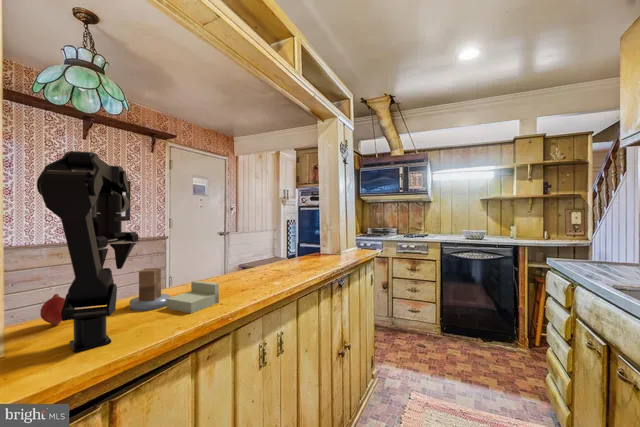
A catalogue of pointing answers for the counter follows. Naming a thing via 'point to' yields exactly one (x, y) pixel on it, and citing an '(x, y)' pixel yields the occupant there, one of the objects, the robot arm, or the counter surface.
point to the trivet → (148, 303)
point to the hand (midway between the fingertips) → (108, 272)
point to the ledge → (195, 297)
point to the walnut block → (149, 284)
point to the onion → (52, 310)
